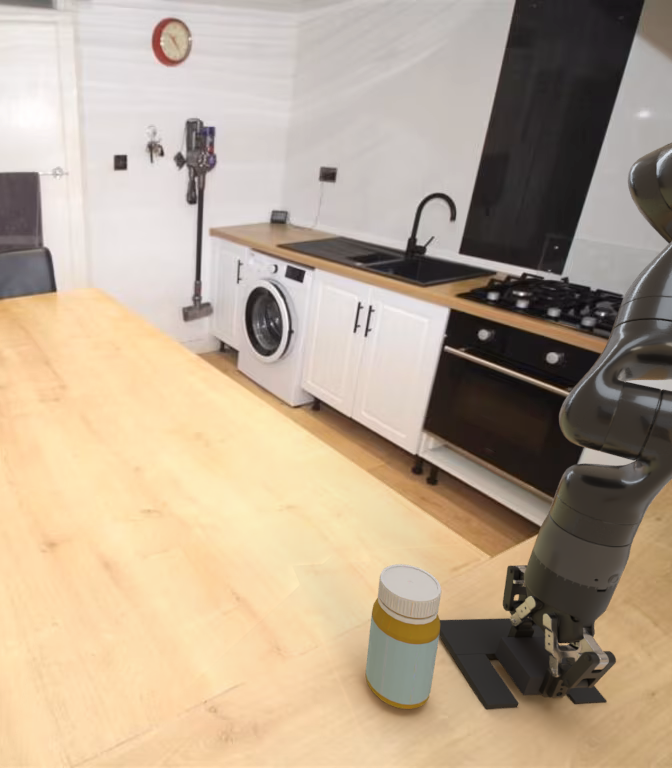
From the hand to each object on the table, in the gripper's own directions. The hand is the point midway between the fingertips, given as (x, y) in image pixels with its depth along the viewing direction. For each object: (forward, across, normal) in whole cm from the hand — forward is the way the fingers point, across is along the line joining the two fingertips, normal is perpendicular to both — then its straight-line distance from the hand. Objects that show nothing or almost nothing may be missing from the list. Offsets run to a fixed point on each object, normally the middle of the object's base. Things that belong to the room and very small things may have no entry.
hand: (532, 671), depth 64 cm
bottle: (+2, 0, -16) cm, 16 cm away
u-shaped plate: (+2, -3, 0) cm, 3 cm away
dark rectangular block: (+1, 0, 0) cm, 1 cm away
